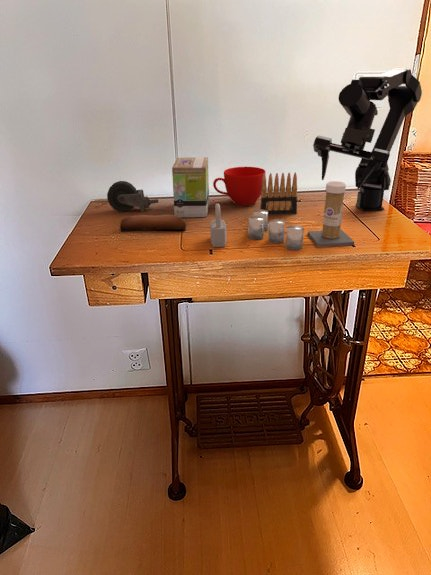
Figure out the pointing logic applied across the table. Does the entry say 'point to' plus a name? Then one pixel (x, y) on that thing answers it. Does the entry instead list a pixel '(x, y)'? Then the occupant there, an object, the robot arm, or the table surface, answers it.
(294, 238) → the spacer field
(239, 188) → the ceramic cup
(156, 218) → the sunglasses case
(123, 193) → the caster wheel
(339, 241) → the mat
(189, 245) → the table surface
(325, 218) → the sprinkles bottle
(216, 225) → the padlock
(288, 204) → the ammunition clip
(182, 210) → the tea box
